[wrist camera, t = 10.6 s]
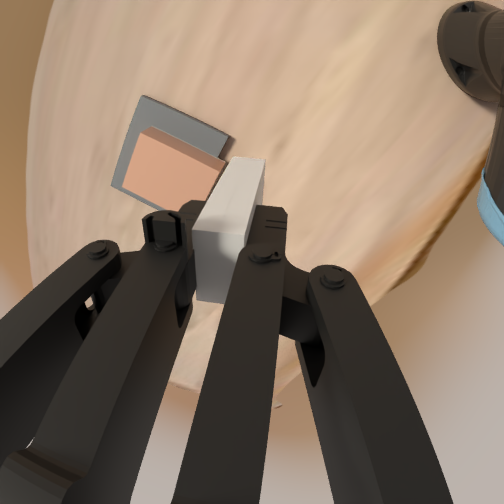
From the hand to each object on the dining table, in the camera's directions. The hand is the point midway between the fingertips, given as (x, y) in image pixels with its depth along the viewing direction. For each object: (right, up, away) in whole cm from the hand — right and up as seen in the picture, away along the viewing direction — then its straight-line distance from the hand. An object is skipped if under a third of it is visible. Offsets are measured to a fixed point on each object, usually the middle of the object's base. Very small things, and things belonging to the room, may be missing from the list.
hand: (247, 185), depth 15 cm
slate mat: (-13, +10, +31) cm, 35 cm away
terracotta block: (-6, +5, +30) cm, 31 cm away
